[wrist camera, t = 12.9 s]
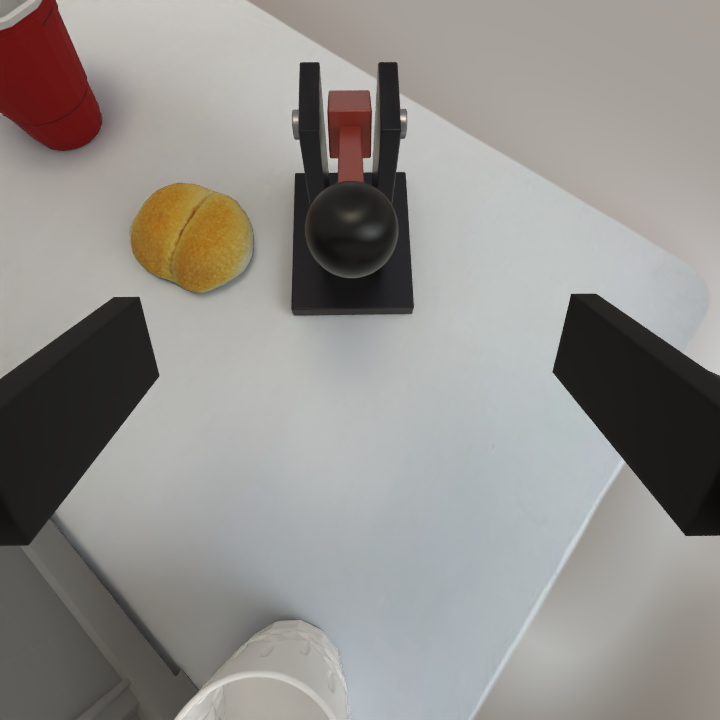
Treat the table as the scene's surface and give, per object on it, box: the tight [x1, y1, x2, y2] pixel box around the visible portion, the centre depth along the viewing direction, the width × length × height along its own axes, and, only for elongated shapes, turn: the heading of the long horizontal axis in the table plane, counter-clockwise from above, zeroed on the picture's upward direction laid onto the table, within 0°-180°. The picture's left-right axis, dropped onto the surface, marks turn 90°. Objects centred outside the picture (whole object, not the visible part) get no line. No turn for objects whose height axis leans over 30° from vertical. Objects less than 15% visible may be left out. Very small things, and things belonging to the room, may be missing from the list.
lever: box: [305, 90, 398, 278], centre depth 20 cm, size 13×4×4 cm, turn 1°
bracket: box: [291, 62, 414, 315], centre depth 28 cm, size 12×9×14 cm
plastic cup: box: [0, 0, 102, 151], centre depth 32 cm, size 11×11×12 cm
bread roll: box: [130, 183, 254, 293], centre depth 33 cm, size 8×9×4 cm
